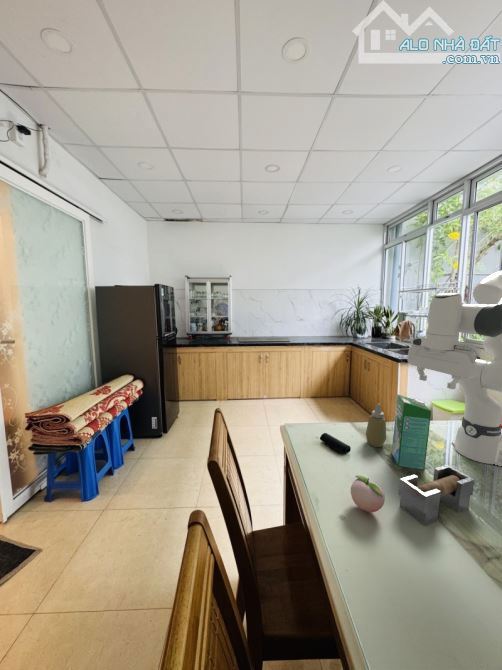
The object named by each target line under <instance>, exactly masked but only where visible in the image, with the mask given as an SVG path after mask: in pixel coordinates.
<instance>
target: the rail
mask: <svg viewBox="0 0 502 670" xmlns="http://www.w3.org/2000/svg"><path fill="white" fill-rule="evenodd" d="M457 481H460V479H459V478H458V477H456V476H454V475H451V476H448V477H445V478H442V479H438V480H435V481H433V480H432V481H429V482H427V483H423V484H421V485H417V488H418V489H419V490H421V491H422V492H424V493H425V492H428V491H431V490H434V489H438V490H439V491H441V494H440V496H443V495H446V494H449V493H452V492H455V491H456V487H457Z"/></svg>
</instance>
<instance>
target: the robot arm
mask: <svg viewBox="0 0 502 670" xmlns="http://www.w3.org/2000/svg"><path fill="white" fill-rule="evenodd" d="M472 295H473V299H474V301H475V302H476V304H475V303H473V304H472V303H464V302H463V299H462V298H463V297H462V295H461V293H459V292H445V293H444V292H443V293H442V292H441V293H437V294H435V295H433V296H432V298H431V301H430V305H429V306H428V314H427V329H426V333H425V336H421V337H416V338H411V339H410V345H411V346H410V347H409V349H408V352H407V362H408V364H409V365H410V366H414V367H416V370H417V373H418V375H419V377H418V378H419V381H423V382H424V381H427V378H428V375H426V374H425V370H426V369H427V370H429V371H430V370H431V371H435V372H439V373H442V374H446V375H449V376H451V379H452V380H451V381H450V382H447V384H446V385H447V386H446V387H447V388H448V389H449V390H456V387H457V384H458V385H459V386H460V388H461V390H462V392H463V396H464V412H463V413H464V415H463V416H462V419H461V426H459V427H458V428H457V431H456V436H455V439H454V440H452V441H451V444H452V445H453V447H454V450H455V451H456V452H457V453H458V454H460V455H461V456H463V457H465V458H467V459H469V460H473V461H474V462H479V463H481V464H482V463H483V464H488V465H493V464H495V466H497V465H498V466H497V467H501V466H502V423H501V416H502V406H501V403H500V402H499V401H498V400H497V399H495V398H493V397H492V396H491V395H490V394H489V392H488V390H491V391H495V392H499V393H502V270H499V271H496V272H494V273H492V274H489V275H488V276H486V277H485V278H483V279H481V280H480V281H479V282H478V283H477V284H476V285H475V287H474V289H473V291H472ZM460 334H467V335H477V336H478V335H479V336H483V337H484V340H483V342H482V347H483V349H484V351H485V352H486V353H487V354H489V355H490V356H492V357H493V358H494V359H493V360H487V359H486V360H485V359H481V358H477V355H478V354H477V352H476V350H474V349H473V348H472V347H469V346H462V345H459V339H460V338H459V337H460Z"/></svg>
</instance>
